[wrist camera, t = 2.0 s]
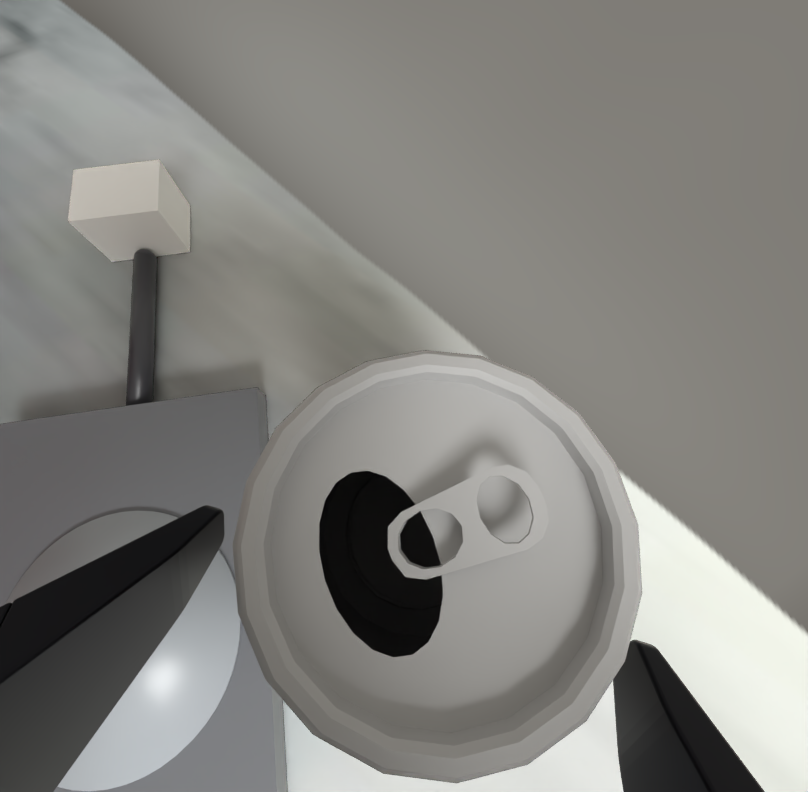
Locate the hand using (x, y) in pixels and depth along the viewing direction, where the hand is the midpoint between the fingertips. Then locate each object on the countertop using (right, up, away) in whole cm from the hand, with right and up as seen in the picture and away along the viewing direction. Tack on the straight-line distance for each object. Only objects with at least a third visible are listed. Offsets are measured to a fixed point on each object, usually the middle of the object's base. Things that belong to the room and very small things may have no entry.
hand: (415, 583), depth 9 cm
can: (0, -2, +9) cm, 9 cm away
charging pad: (-12, 0, +9) cm, 15 cm away
